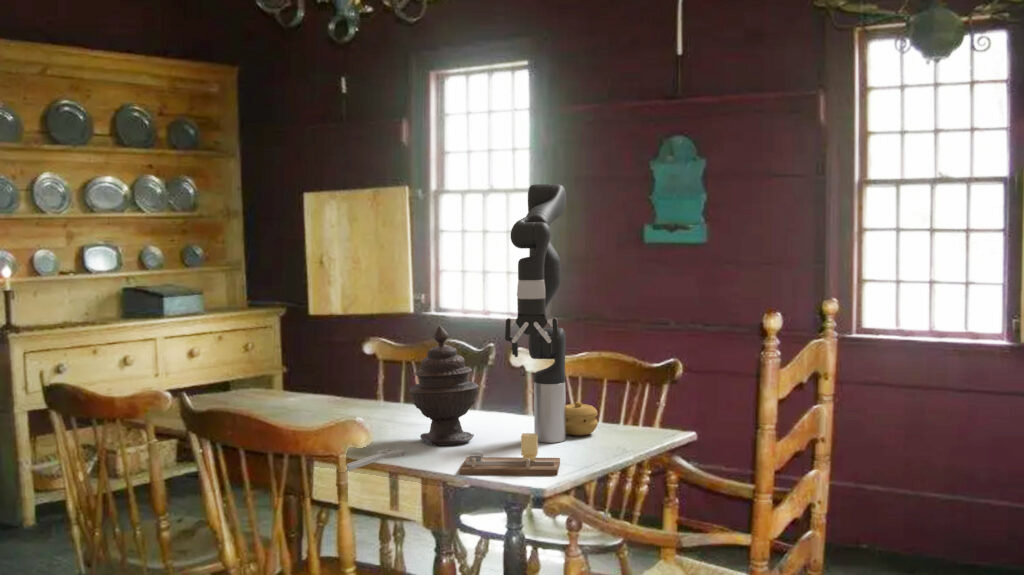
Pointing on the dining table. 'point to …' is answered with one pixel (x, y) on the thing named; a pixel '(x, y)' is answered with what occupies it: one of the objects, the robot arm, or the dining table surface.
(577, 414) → the pot
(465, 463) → the wooden slider board
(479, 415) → the dining table surface
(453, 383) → the decorative urn
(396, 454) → the adjustable wrench
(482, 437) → the dining table surface
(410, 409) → the dining table surface
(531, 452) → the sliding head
